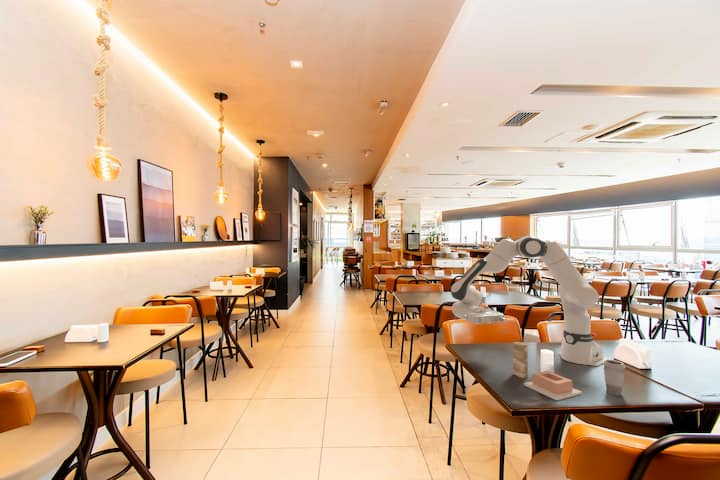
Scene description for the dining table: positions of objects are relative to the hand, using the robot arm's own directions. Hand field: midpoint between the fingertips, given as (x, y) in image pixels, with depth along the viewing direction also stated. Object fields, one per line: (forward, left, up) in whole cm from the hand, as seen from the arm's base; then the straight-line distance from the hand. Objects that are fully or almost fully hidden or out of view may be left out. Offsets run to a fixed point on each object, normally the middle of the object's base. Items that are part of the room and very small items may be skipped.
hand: (497, 321), depth 154 cm
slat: (0, +13, -21) cm, 25 cm away
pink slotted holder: (0, +28, -21) cm, 35 cm away
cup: (-20, +39, -21) cm, 49 cm away
